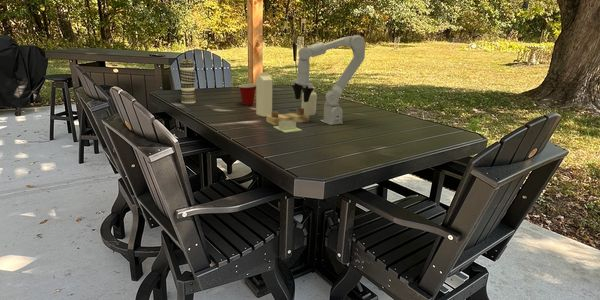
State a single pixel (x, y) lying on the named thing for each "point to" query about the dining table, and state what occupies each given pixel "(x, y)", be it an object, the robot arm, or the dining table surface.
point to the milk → (264, 95)
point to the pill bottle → (310, 104)
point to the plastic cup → (247, 93)
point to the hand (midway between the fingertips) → (301, 100)
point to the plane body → (287, 117)
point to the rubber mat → (287, 129)
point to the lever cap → (287, 125)
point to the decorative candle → (187, 81)
